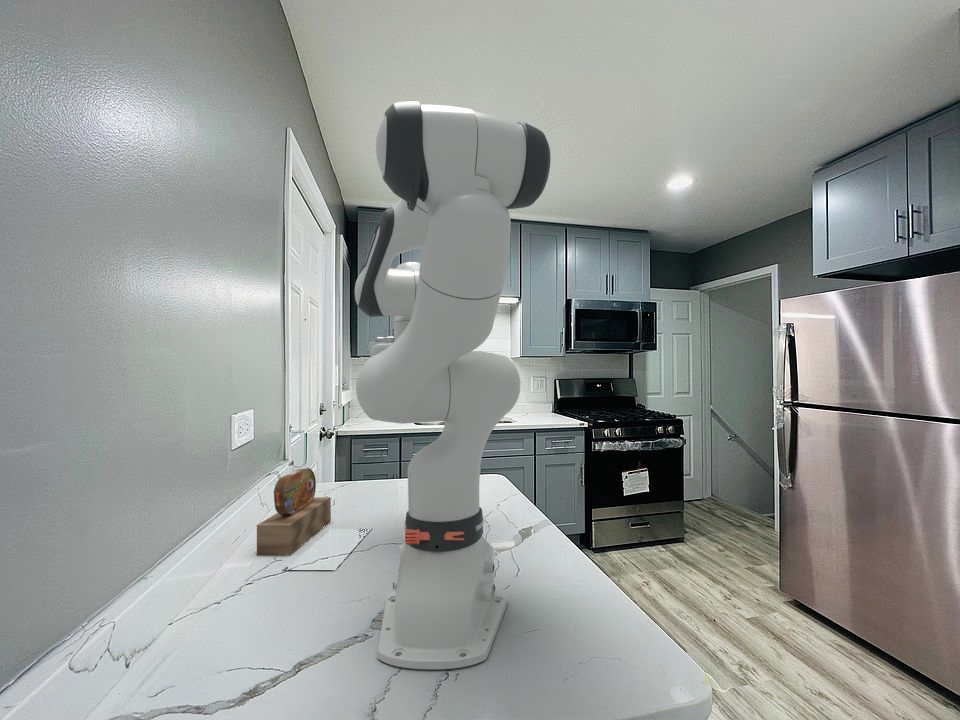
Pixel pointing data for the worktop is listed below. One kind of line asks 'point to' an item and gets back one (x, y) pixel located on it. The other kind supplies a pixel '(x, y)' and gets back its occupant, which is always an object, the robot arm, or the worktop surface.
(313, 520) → the block
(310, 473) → the tin
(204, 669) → the worktop surface
